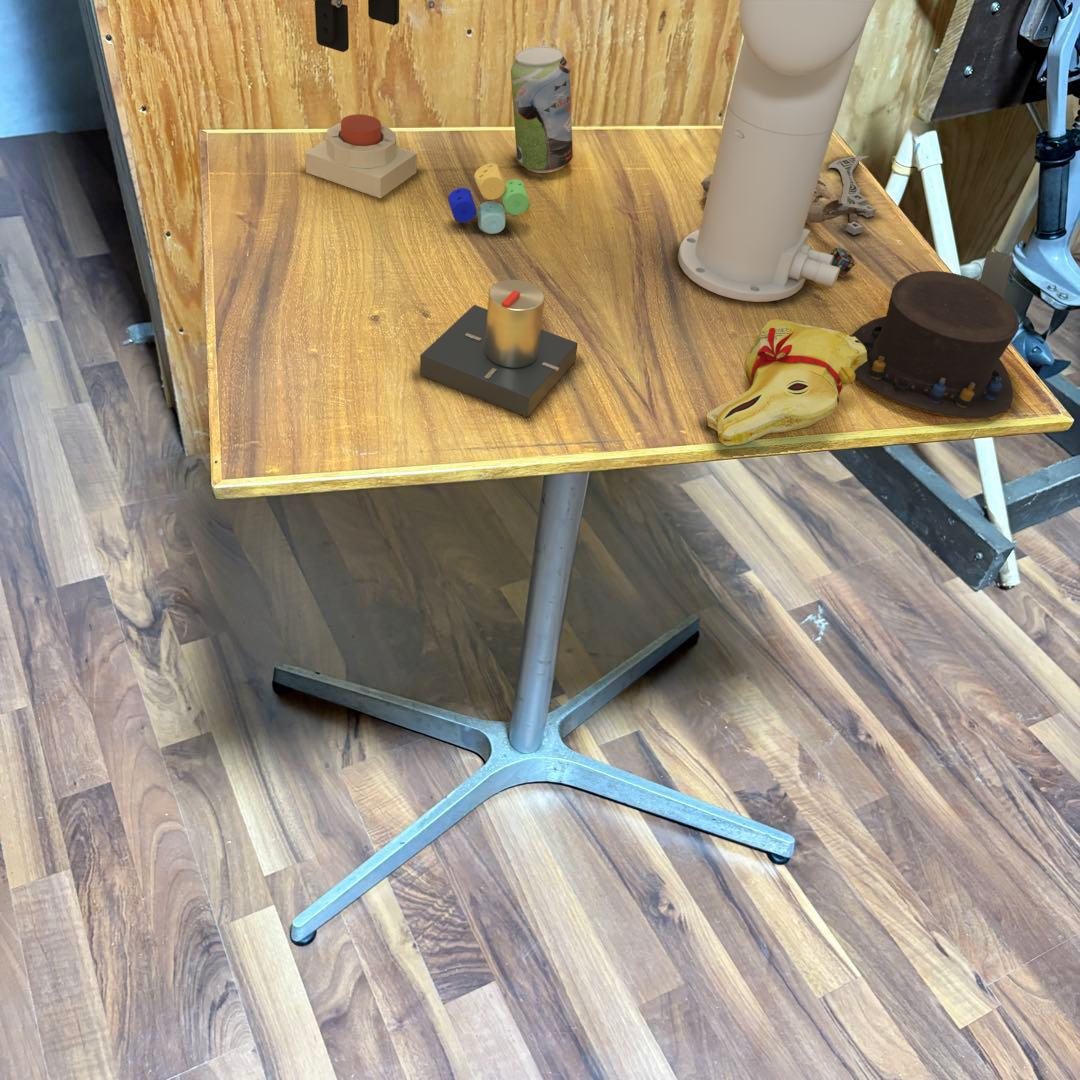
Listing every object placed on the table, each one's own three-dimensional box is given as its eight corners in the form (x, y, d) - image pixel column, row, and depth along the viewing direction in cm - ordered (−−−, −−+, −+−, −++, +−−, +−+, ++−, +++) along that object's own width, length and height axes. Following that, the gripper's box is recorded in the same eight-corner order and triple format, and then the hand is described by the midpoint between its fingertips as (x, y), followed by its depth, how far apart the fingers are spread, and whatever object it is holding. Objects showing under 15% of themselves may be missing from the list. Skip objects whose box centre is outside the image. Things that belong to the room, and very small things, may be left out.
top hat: (1016, 444, 89) (1073, 340, 82) (838, 402, 91) (877, 296, 83) (1007, 346, 100) (1056, 246, 92) (847, 311, 101) (882, 209, 94)
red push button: (388, 138, 109) (388, 121, 108) (367, 152, 107) (366, 135, 106) (355, 127, 110) (355, 110, 109) (333, 140, 108) (332, 123, 107)
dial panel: (578, 363, 91) (581, 342, 90) (530, 418, 85) (533, 397, 84) (472, 323, 94) (474, 302, 92) (419, 374, 88) (420, 353, 86)
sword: (829, 231, 112) (877, 239, 112) (831, 224, 111) (880, 231, 111) (826, 153, 126) (868, 159, 126) (828, 146, 126) (871, 152, 125)
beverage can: (571, 182, 114) (585, 68, 106) (502, 175, 114) (511, 60, 105) (571, 155, 119) (584, 44, 110) (505, 149, 118) (513, 37, 110)
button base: (416, 172, 112) (417, 135, 110) (380, 198, 108) (380, 160, 105) (344, 148, 115) (343, 111, 112) (306, 172, 110) (303, 135, 107)
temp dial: (499, 330, 90) (504, 270, 86) (546, 347, 89) (554, 286, 85) (475, 356, 87) (479, 295, 83) (523, 374, 86) (530, 313, 82)
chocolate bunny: (885, 381, 89) (792, 484, 81) (770, 358, 96) (674, 452, 88) (882, 308, 85) (784, 410, 77) (762, 290, 91) (661, 382, 84)
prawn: (826, 109, 119) (787, 161, 124) (747, 70, 114) (709, 126, 118) (914, 251, 105) (866, 303, 109) (828, 214, 99) (781, 271, 104)
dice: (448, 234, 104) (451, 171, 100) (445, 220, 106) (448, 158, 101) (529, 234, 106) (535, 173, 101) (525, 220, 107) (531, 160, 103)
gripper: (332, -157, 82) (340, 73, 95) (446, -191, 94) (439, 18, 106) (252, -177, 84) (270, 51, 96) (373, -208, 96) (375, -1, 108)
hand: (358, 33), depth 101 cm, fingers open, 8 cm apart
